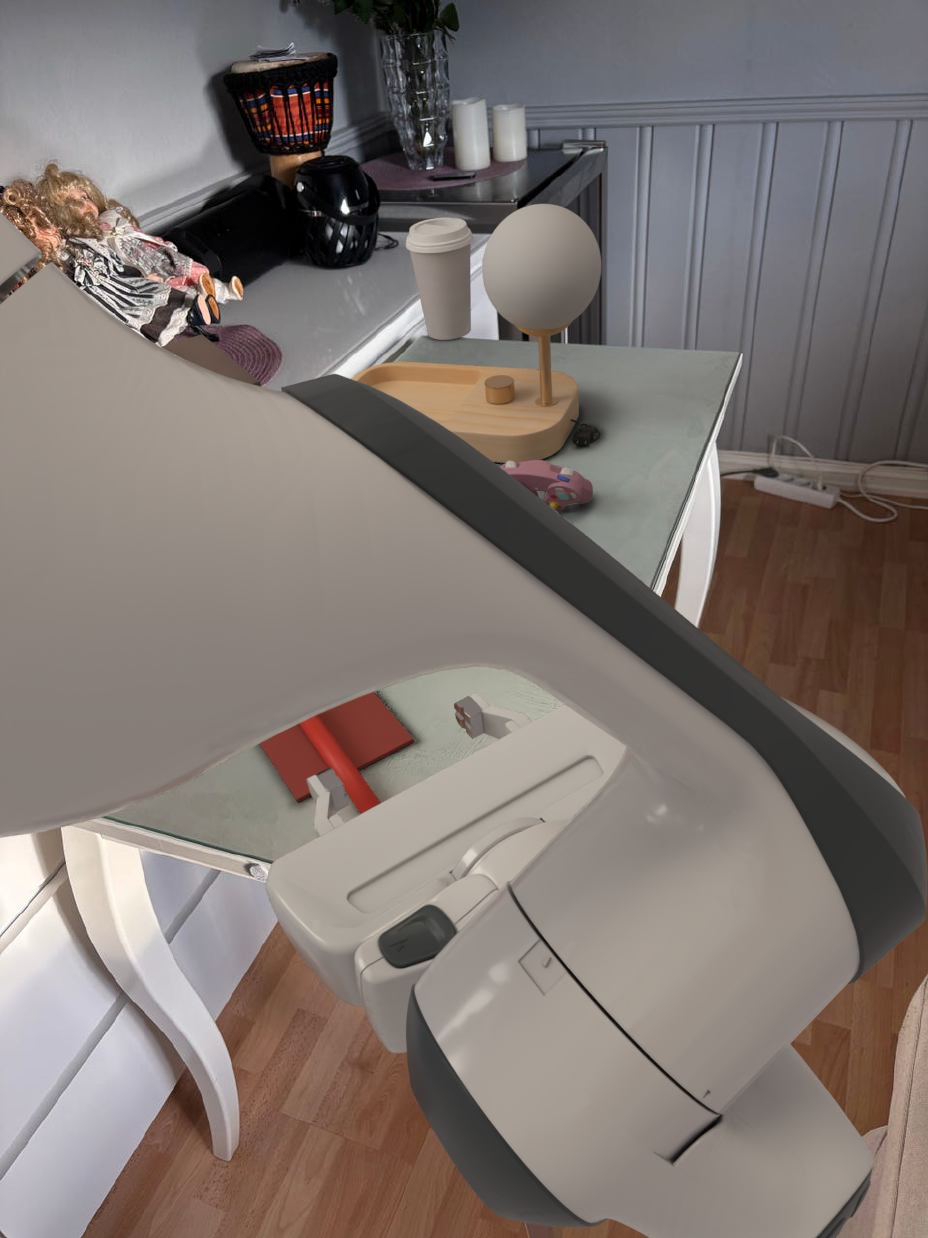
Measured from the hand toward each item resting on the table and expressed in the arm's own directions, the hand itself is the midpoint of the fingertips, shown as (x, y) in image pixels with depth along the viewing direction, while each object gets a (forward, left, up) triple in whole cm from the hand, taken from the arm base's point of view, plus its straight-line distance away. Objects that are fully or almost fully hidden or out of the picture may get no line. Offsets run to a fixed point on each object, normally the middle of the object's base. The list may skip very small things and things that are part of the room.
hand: (394, 741), depth 51 cm
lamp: (+38, +54, -14) cm, 68 cm away
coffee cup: (+52, +81, -14) cm, 97 cm away
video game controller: (+34, +33, -14) cm, 50 cm away
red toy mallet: (0, +16, -14) cm, 21 cm away
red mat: (+1, +18, -14) cm, 23 cm away
